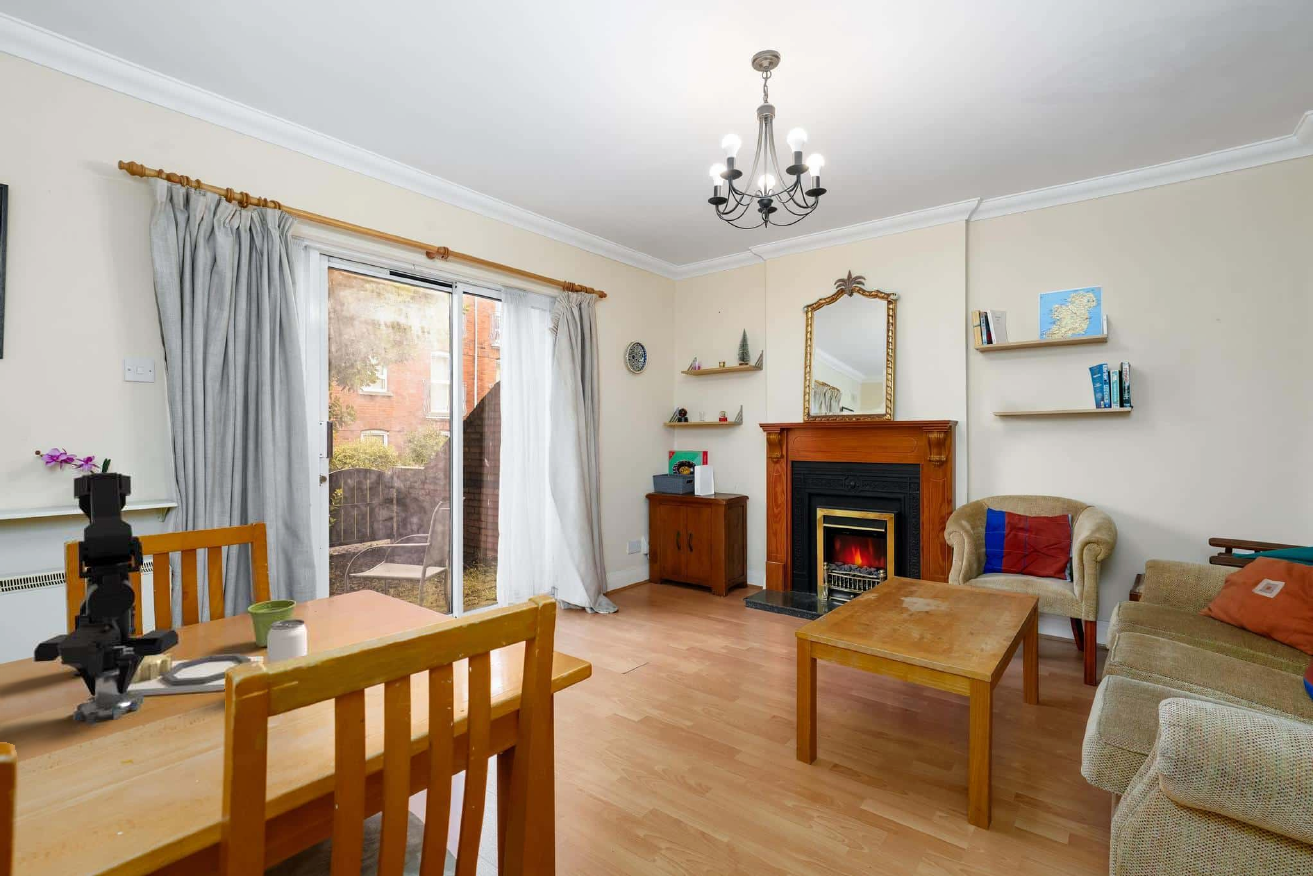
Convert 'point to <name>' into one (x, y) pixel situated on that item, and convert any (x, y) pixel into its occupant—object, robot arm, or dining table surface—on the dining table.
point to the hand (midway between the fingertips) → (109, 693)
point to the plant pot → (269, 617)
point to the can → (286, 640)
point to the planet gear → (107, 700)
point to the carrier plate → (184, 674)
